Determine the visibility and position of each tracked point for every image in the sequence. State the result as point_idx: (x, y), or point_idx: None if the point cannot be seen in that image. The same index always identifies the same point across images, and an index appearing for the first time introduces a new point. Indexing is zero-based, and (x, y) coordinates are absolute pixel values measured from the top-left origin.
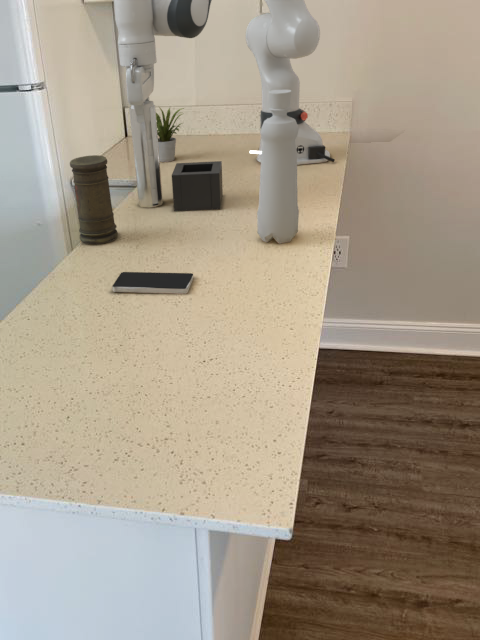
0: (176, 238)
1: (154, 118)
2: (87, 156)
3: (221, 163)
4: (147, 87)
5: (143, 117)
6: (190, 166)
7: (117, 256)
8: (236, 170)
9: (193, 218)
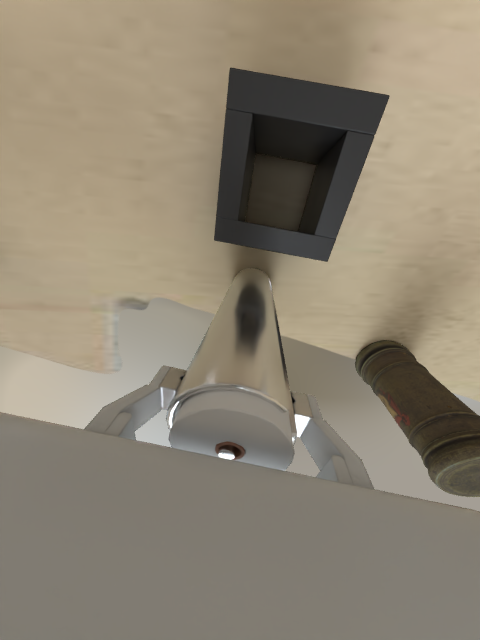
0: (461, 258)
1: (265, 354)
2: (451, 476)
3: (248, 72)
4: (239, 570)
5: (318, 409)
6: (241, 200)
7: (472, 344)
8: (19, 50)
9: (369, 216)
